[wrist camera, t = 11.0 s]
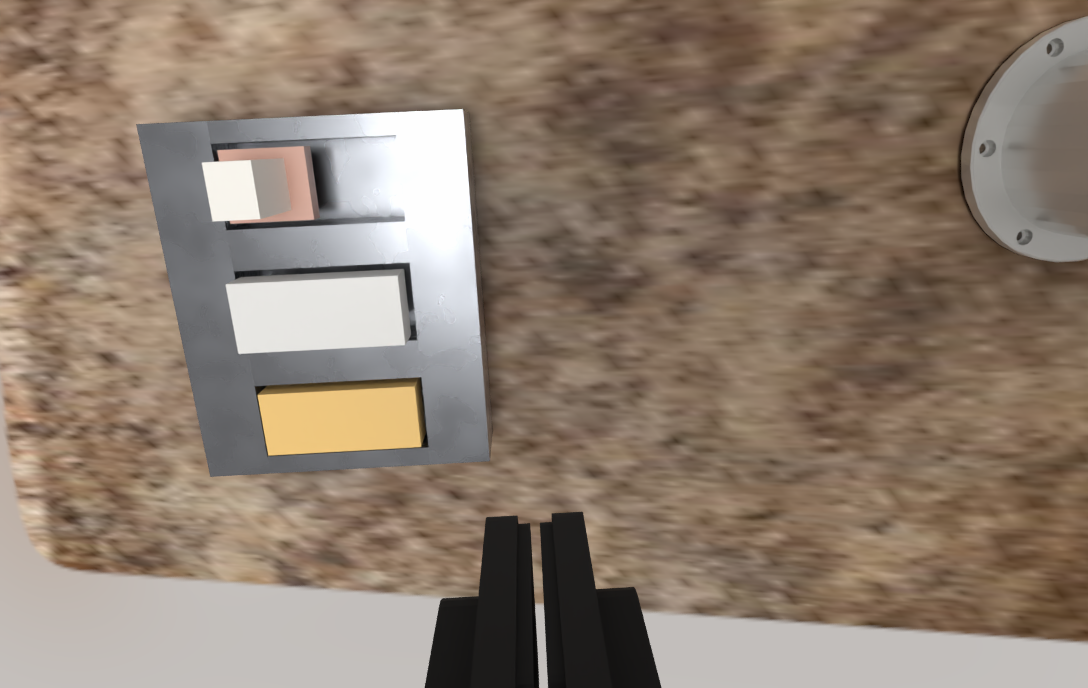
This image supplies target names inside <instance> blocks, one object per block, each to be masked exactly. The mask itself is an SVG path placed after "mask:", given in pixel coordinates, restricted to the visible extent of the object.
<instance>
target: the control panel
mask: <svg viewBox="0 0 1088 688" xmlns="http://www.w3.org/2000/svg"><path fill="white" fill-rule="evenodd" d="M136 125H137V130H138V135H139V139H140V144H141V149H142V154H143V158H144V163H145V168H146V173H147V177H148V182H149V187H150V192H151V196H152V201H153V206H154V211H155V215H156V220H157V225H158V230H159V234H160V239H161V244H162V249H163V253H164V258H165V263H166V268H167V272H168V277H169V282H170V287H171V291H172V296H173V301H174V306H175V311H176V315H177V320H178V325H179V330H180V334H181V339H182V344H183V349H184V353H185V358H186V363H187V368H188V372H189V377H190V382H191V387H192V391H193V396H194V401H195V406H196V410H197V415H198V420H199V425H200V429H201V434H202V439H203V444H204V448H205V453H206V458H207V463H208V467H209V472H210V477H214V476H232V475H250V474H268V473H286V472H304V471H321V470H339V469H357V468H375V467H393V466H411V465H428V464H446V463H464V462H482V461H490V453H491V443H492V433H493V427H492V414H491V400H490V386H489V373H488V359H487V345H486V332H485V318H484V304H483V291H482V277H481V264H480V250H479V236H478V223H477V209H476V195H475V182H474V168H473V154H472V141H471V127H470V113H469V112H467V111H465V110H464V109H457V110H435V111H414V112H392V113H370V114H349V115H327V116H306V117H284V118H262V119H241V120H219V121H198V122H176V123H154V124H136ZM296 146H310V150H311V157H312V164H313V171H314V178H315V185H316V192H317V200H318V207H319V214H320V218H317V219H315V220H297V221H277V222H257V223H236V224H230V221H212V216H211V210H210V205H209V199H208V194H207V189H206V183H205V178H204V173H203V167H202V163H203V162H219V157H218V152H217V150H232V149H254V148H275V147H296ZM390 269H404V273H405V282H406V292H407V301H408V311H409V320H410V329H411V336H410V338H409V339H408V341H407V343H406V345H397V346H378V347H360V348H341V349H322V350H303V351H284V352H265V353H246V354H238V349H237V344H236V338H235V333H234V327H233V322H232V317H231V311H230V306H229V301H228V295H227V290H226V284H227V283H230V282H232V281H234V280H236V279H238V278H240V277H252V276H272V275H291V274H311V273H331V272H351V271H370V270H390ZM415 377H420V382H421V392H422V401H423V411H424V420H425V430H426V434H425V437H424V440H423V443H422V446H421V447H414V448H396V449H378V450H360V451H342V452H324V453H306V454H288V455H270V456H268V451H267V445H266V439H265V434H264V428H263V423H262V417H261V412H260V406H259V401H258V394H259V393H260V392H261V391H262V390H263V389H264V388H265V387H266V386H267V385H285V384H304V383H322V382H341V381H360V380H378V379H397V378H415Z"/></svg>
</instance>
